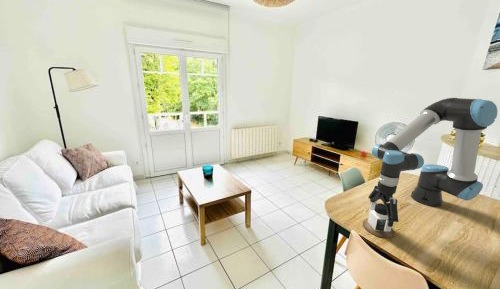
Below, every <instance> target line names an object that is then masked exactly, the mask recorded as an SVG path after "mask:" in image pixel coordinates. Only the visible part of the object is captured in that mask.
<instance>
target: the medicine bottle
mask: <svg viewBox="0 0 500 289" xmlns="http://www.w3.org/2000/svg"><path fill="white" fill-rule="evenodd" d="M367 219H368V223H369V224H370V225H371V226H372V228H373V229H374V230H375V231H384V228H385V224H386V219H388V215H387V211H386V207H385V205H384V203H381V202H380V203H377V204H376V205H375V209H374V210H370V213H369V212H368V218H367Z"/></svg>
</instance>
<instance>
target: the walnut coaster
mask: <svg viewBox="0 0 500 289" xmlns="http://www.w3.org/2000/svg"><path fill="white" fill-rule="evenodd" d="M362 226H363V229H364V230H366V231H367V232H368V233H369V234H371V235H374V236H375V237H379V238H385V239H387V238H391V237H392V236H393V235H394V229H393V227H392V228H391V232H389V231H375V230H374V229H373V228H372V226H371V225H370V224H369V223H368V218H366V219H364V221H363V223H362Z"/></svg>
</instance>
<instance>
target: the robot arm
mask: <svg viewBox="0 0 500 289" xmlns="http://www.w3.org/2000/svg"><path fill="white" fill-rule="evenodd" d="M497 116H498V107H497V105H496V103H494V102H493V101H491V100H489V99H488V100H487V99H481V98H462V97H461V98H459V97H447V98H444V99H441V100H438V101H435V102H433V103H432V104H430V105H428V106H427V107H425V108H424V109H422V110H421V111H420V113H419V115H418V116H417V117H416V118H415V119H414V120H412V121H411V122H410V123H408V124H407V125H406V126H405V127H403V128H402V129H401V130H400V131H398V132H397V133H396V134H395V135H394V136H392V137H391V138H390V139H388V141H385V143H384V144H381V143H378V144H375V145H374V146H373V147H372V149H371V154H372V156H373V158H376V159H379V160H381V161H382V162H381V163H382V164H381V168H380V172H379V177H378V182H377V185H374V188H373V190H372V191H371V193H370V194H369V195H368V199H369V209H368V214H369V213H370V210H374V209H375V205H376V204H378V203H377V202H378V201H379V200H380V201H382V204H384V205H385V207H386V211H387V215H388V219H386V224H385V228H384V231H389V232H391V228H392V229H393V226H394V222H395V223H398V222H399V215H398V214H399V212H398V199H397V198H394V197H393V195H395V194H396V192H397V188H398V185H399V181H400V177H401V176H400V175H401V172H406V171H415V170H417V169H418V170H419V169H420V173H419V177H418V181H417V185H416V186H415V187H414V189H413V190H412V191H411V193H410V198H412V199H413V200H414V201H416V202H417V203H420V204H422V205H426V206H430V207H440V206H442V205H443V201H444V200H443V194H442V193H443V192H444V193H446V194H448V195H451V196H454V197H455V198H458V199H461V200H463V201H471V200H473V199H474V198H476V197H477V196H478V195H479V194H480V193H481V191H482V190H483V187H484V184H483V183H482V182H481V181H478V178H479V177H478V174H476V173H475V169H476V164H477V159H478V153H479V147H480V142H481V136H482V132H483V131H485V130H487V129H488V127H490V126H492V125H493V123H495V121H496V118H497ZM442 121H444V122H445V121H448V122H452V128H453V129H454V130H455V135H454V136H455V138H454V144H453V152H452V153H453V154H452V161H451V168H449V167H447V166H445V165H440V164H431V163H429V164H424V163H425V160H424V158H423V156H422V155H421V154H419V153H413V152H412V153H408V152H405V151H402V150H404V149H405V148H406V147H407V146H408V145H410V144H411V143H413V141H415V140H416V139H417V138H418V137H420V136H421V135H423V133H425V132H426V131H427V130H428V129H429V128H431V127H432V126H433V125H437V124H439V123H440V122H442Z"/></svg>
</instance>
